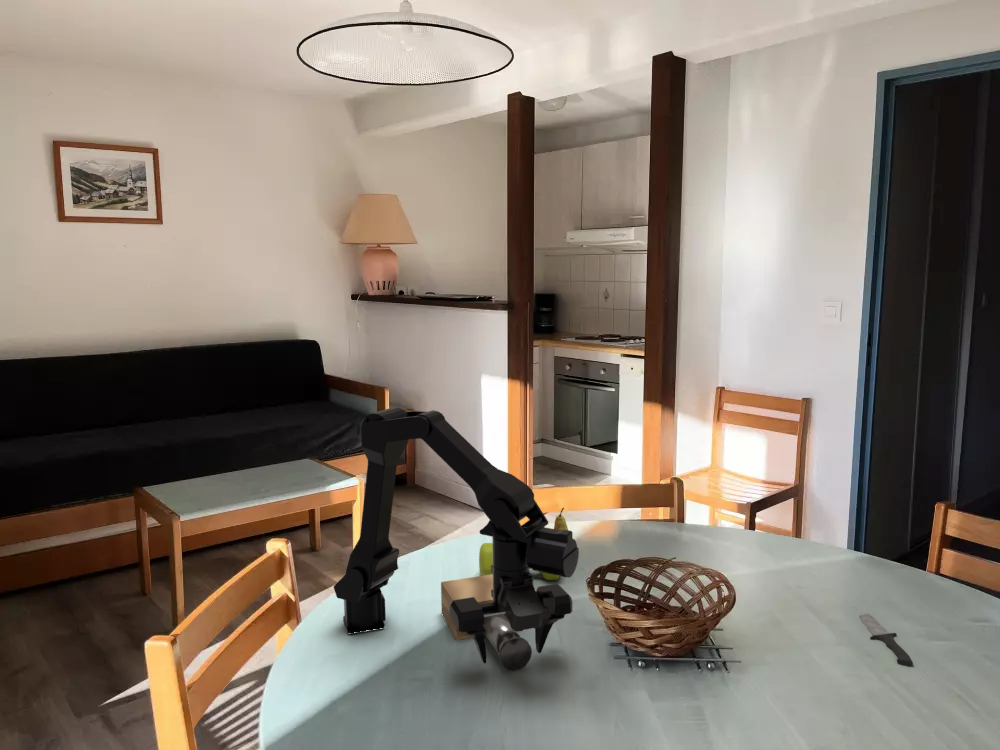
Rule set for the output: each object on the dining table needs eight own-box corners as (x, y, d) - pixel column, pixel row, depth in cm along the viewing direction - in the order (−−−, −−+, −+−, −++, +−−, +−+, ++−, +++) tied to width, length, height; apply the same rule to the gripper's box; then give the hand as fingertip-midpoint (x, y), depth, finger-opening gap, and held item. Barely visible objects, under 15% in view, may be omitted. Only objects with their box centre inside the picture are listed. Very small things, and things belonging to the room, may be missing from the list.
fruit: (578, 555, 166) (578, 501, 164) (566, 564, 161) (566, 509, 159) (555, 550, 169) (555, 497, 167) (543, 558, 164) (543, 505, 162)
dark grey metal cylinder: (500, 673, 119) (500, 642, 118) (473, 630, 132) (472, 602, 131) (531, 667, 120) (531, 636, 119) (501, 625, 134) (501, 597, 133)
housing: (456, 639, 130) (455, 605, 129) (441, 614, 139) (441, 582, 138) (522, 628, 134) (522, 594, 133) (503, 603, 143) (503, 572, 142)
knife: (837, 601, 142) (865, 601, 142) (837, 606, 143) (864, 606, 142) (894, 660, 120) (926, 661, 120) (893, 667, 120) (926, 667, 120)
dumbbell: (557, 569, 159) (557, 536, 158) (563, 585, 151) (563, 550, 150) (478, 571, 158) (478, 538, 157) (480, 588, 150) (479, 553, 149)
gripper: (468, 594, 108) (470, 696, 111) (587, 575, 114) (587, 672, 117) (447, 564, 119) (449, 658, 121) (558, 548, 125) (558, 638, 127)
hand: (511, 657), depth 121 cm, fingers open, 9 cm apart
